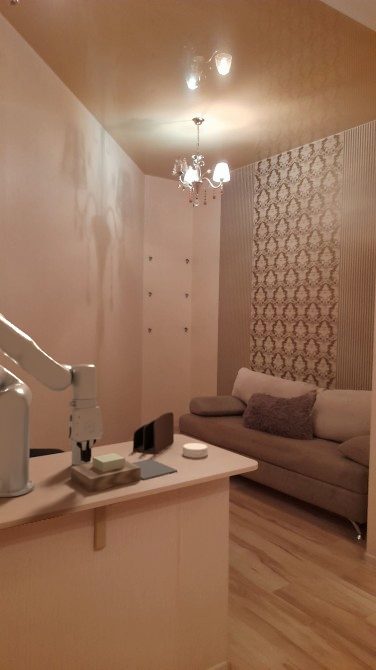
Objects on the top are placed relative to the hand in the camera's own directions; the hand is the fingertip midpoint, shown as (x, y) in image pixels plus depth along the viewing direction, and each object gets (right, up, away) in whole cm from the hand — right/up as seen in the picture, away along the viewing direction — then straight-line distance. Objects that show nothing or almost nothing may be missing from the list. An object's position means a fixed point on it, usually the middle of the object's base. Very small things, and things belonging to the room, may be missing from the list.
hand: (86, 460), depth 140 cm
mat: (+18, -7, +16) cm, 25 cm away
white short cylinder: (+35, -8, +35) cm, 50 cm away
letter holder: (+18, -7, +45) cm, 49 cm away
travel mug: (-6, -7, +19) cm, 21 cm away
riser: (+5, -8, +5) cm, 10 cm away
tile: (+6, -2, +6) cm, 8 cm away
